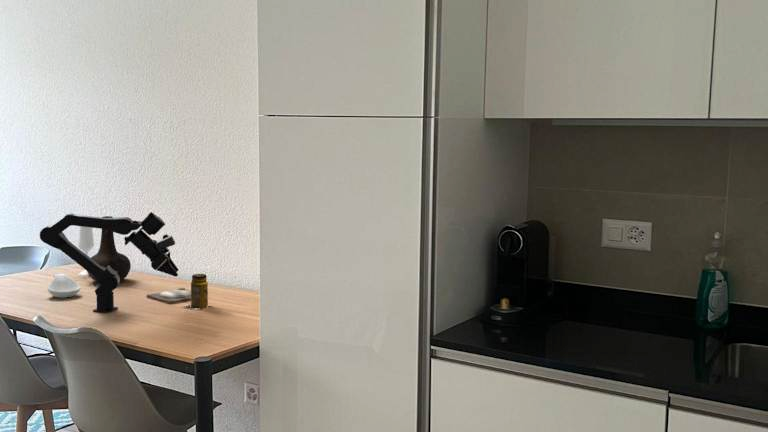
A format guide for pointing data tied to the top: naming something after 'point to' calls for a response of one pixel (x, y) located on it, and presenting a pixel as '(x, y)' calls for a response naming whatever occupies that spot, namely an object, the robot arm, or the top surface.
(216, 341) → the top surface
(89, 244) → the champagne flute
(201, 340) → the top surface
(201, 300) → the condiment
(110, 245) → the glass bottle
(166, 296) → the brown flat square slab
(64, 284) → the spoon rest
